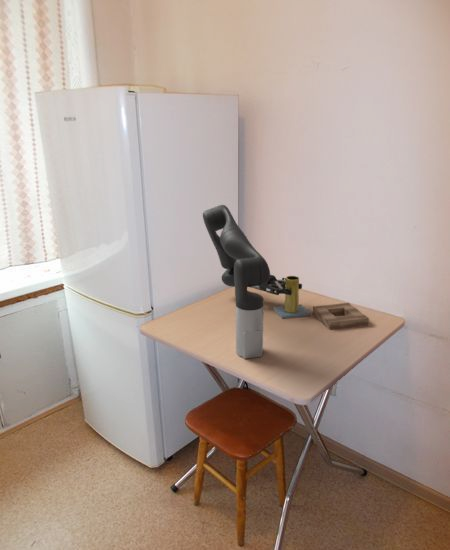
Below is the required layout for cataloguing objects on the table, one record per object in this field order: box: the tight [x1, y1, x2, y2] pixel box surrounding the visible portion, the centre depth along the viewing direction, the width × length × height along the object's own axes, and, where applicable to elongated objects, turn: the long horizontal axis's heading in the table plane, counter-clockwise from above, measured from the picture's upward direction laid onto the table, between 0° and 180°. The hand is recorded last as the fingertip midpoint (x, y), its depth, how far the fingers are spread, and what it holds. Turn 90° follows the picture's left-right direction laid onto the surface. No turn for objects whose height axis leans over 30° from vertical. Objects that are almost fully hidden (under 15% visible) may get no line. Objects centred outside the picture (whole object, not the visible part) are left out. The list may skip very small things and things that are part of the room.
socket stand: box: [312, 302, 370, 331], centre depth 169 cm, size 16×16×3 cm
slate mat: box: [273, 303, 311, 319], centre depth 176 cm, size 10×12×1 cm
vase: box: [283, 275, 300, 313], centre depth 174 cm, size 6×6×14 cm
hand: (296, 289), depth 172 cm, fingers open, 8 cm apart
